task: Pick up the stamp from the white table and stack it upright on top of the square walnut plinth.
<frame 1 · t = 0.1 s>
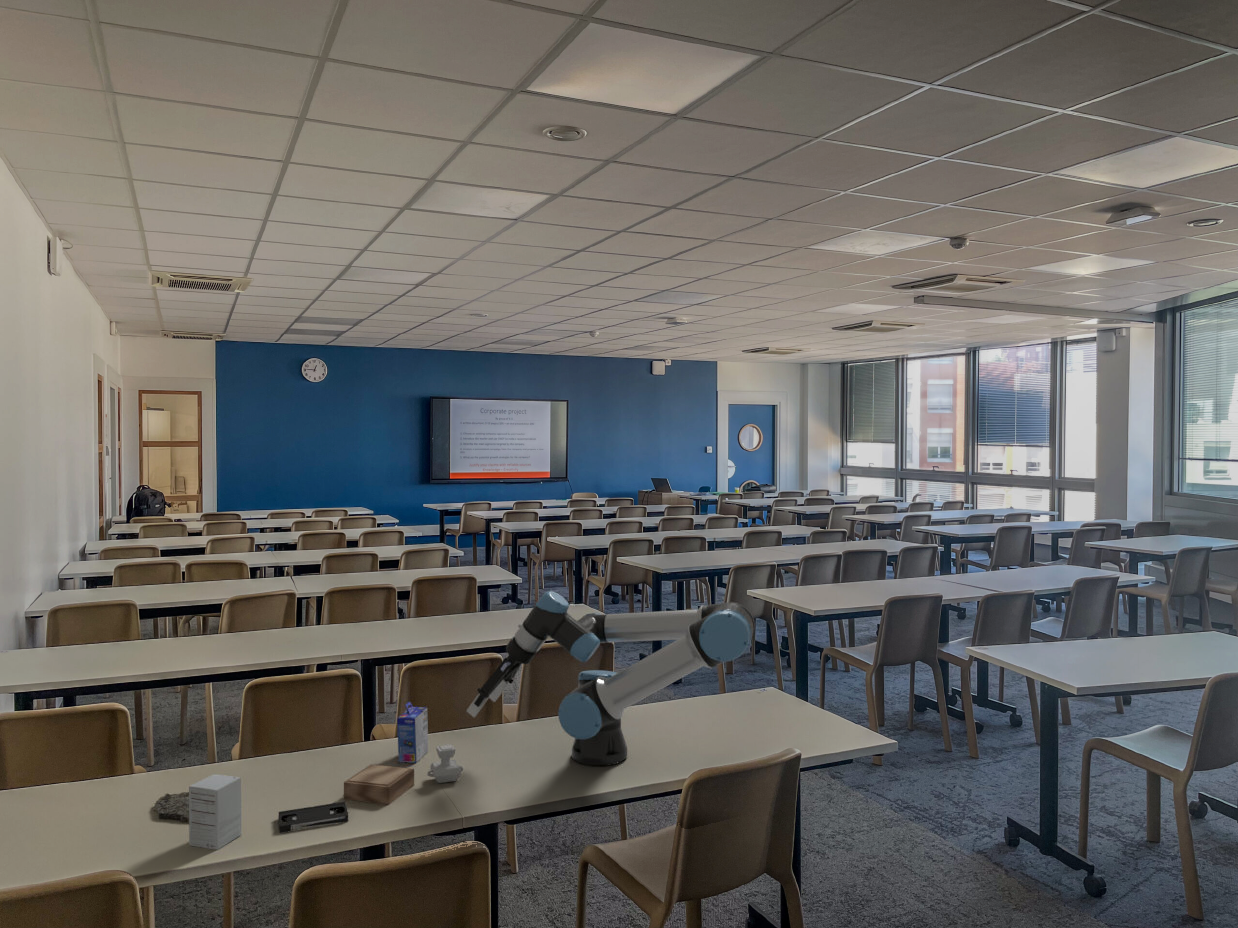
hand: (481, 706, 222), 15 cm above the table, tool tilted 35°, fingers open, 13 cm apart
plinth: (379, 791, 203), on the table
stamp: (445, 780, 211), on the table
stone slab: (183, 813, 193), on the table
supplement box: (215, 841, 177), on the table
ink cartridge box: (413, 757, 228), on the table
vhs tape: (313, 822, 188), on the table
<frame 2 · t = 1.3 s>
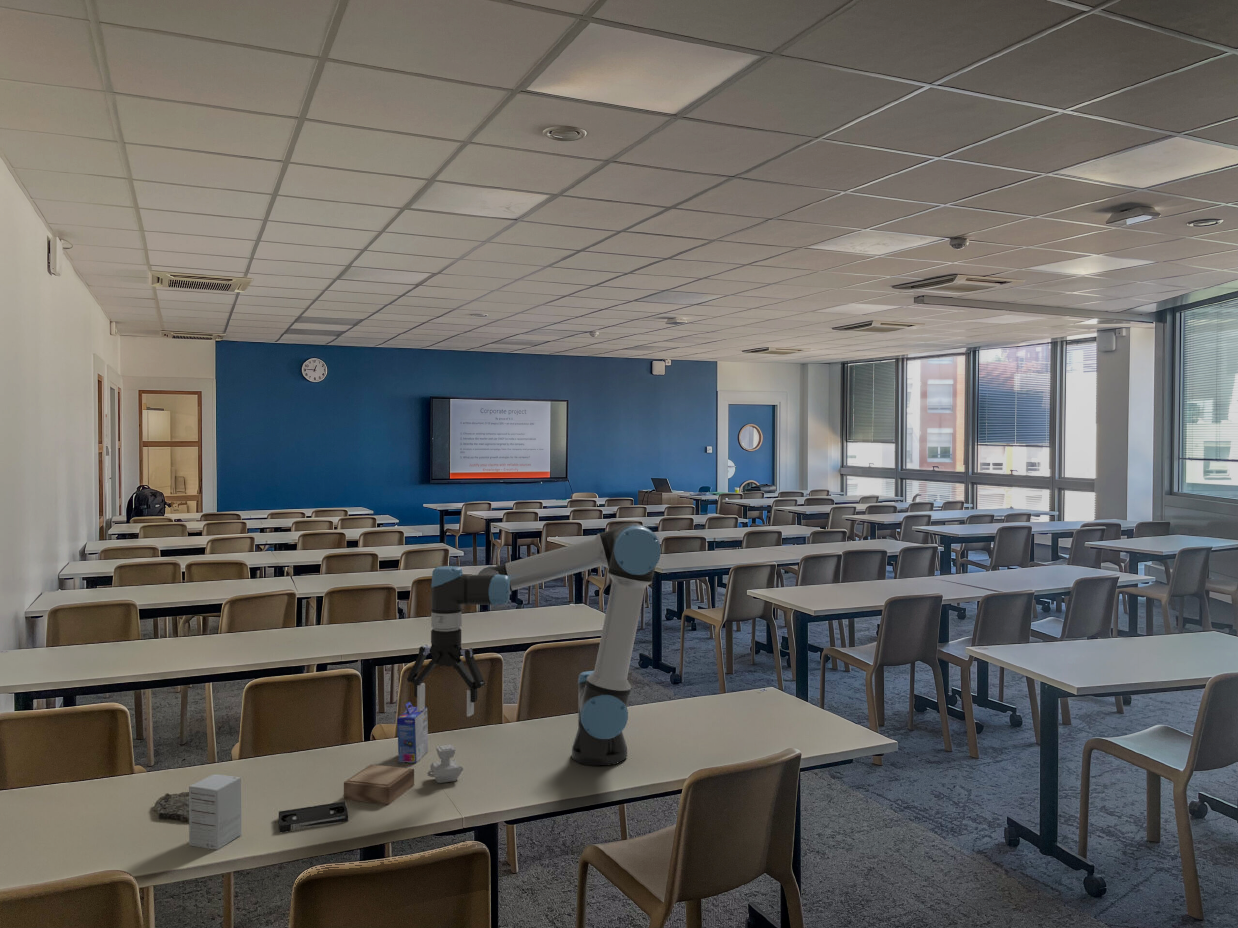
hand: (445, 712, 211), 17 cm above the table, tool pointing down, fingers open, 13 cm apart
nothing on the table moved.
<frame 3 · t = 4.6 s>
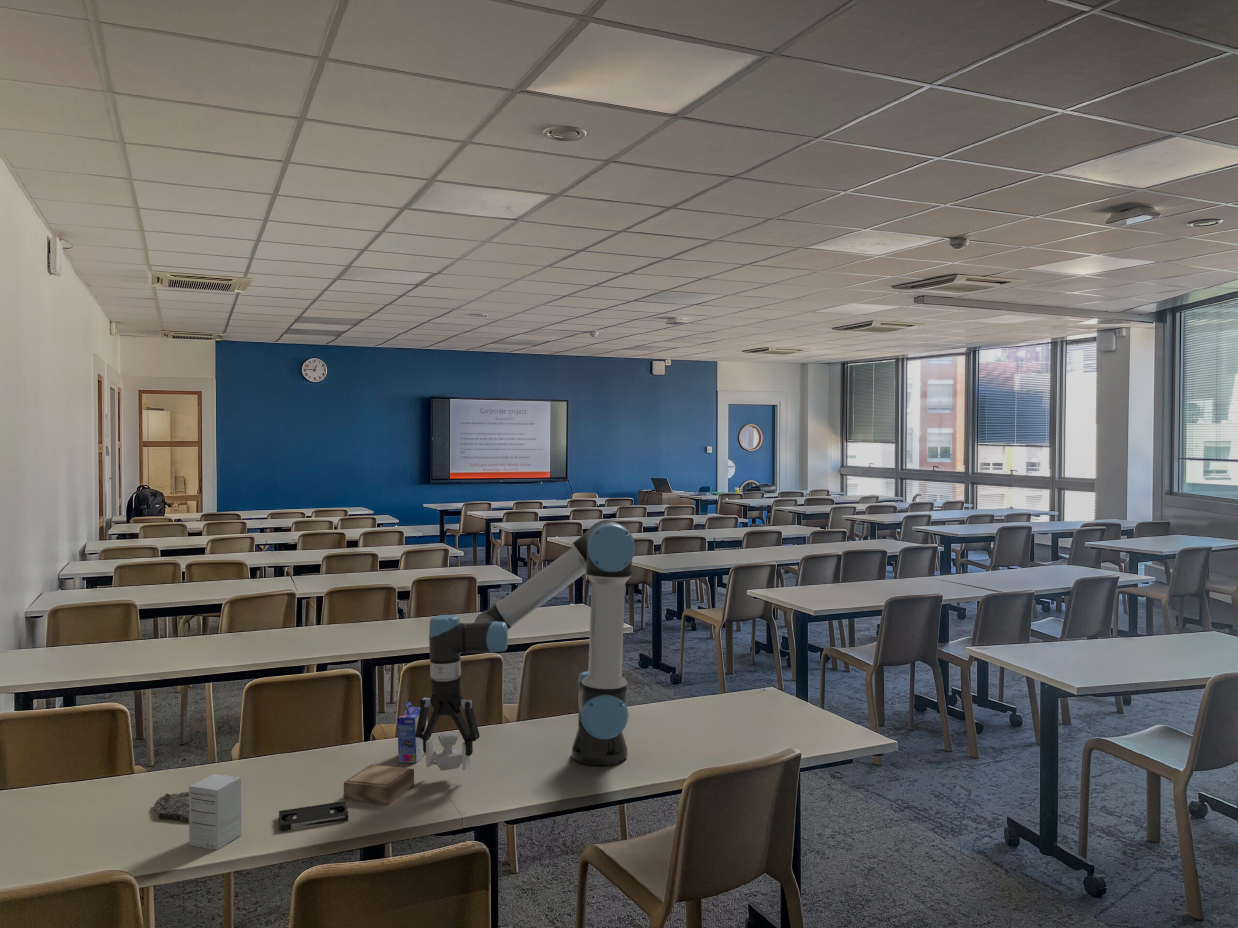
hand: (448, 766, 211), 3 cm above the table, tool pointing down, fingers closed on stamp, 9 cm apart
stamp: (448, 768, 211), point 3 cm above the table, touching gripper
everything else where it was.
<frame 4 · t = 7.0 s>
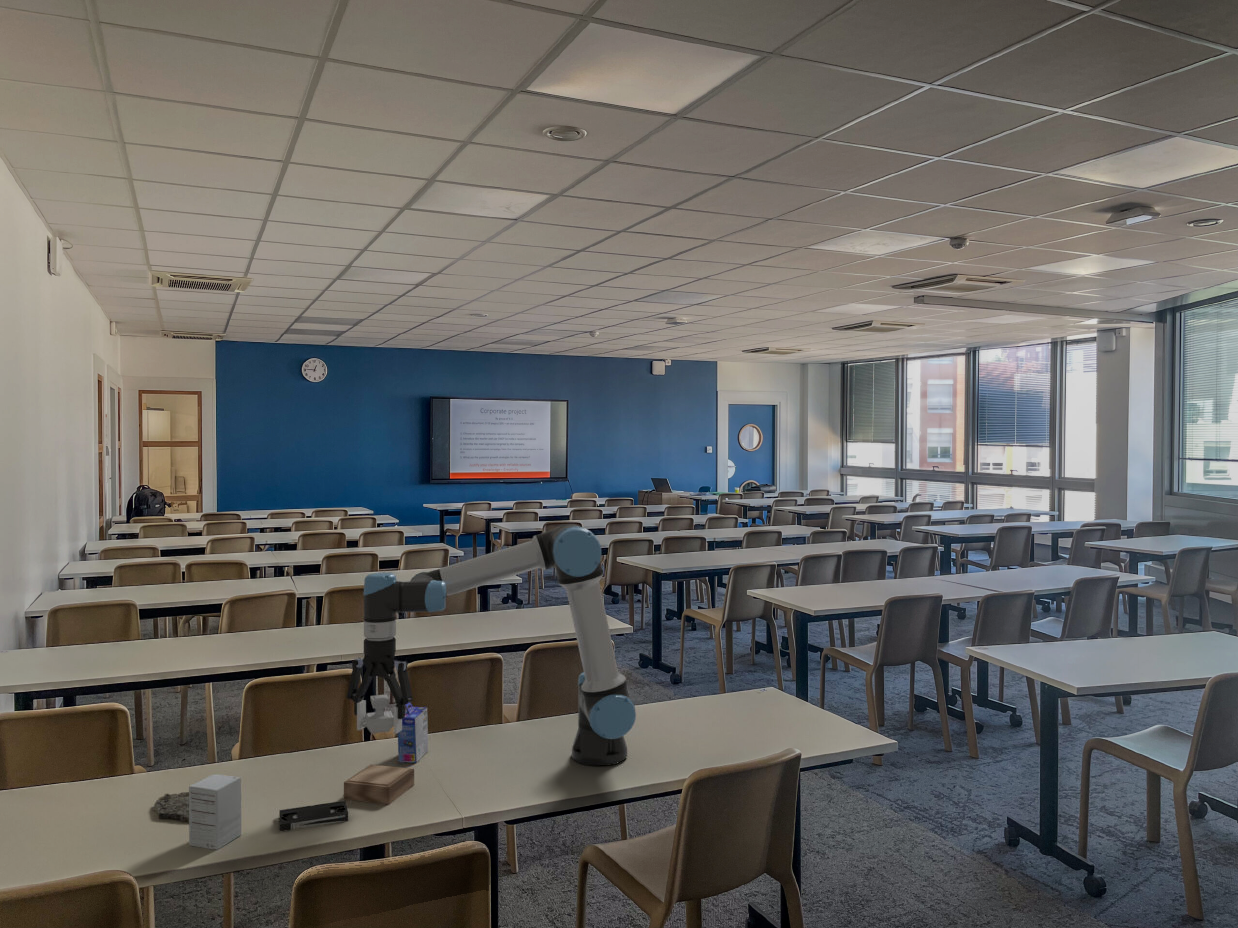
hand: (379, 729, 203), 15 cm above the table, tool pointing down, fingers closed on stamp, 9 cm apart
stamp: (379, 731, 203), point 15 cm above the table, touching gripper
everything else where it was.
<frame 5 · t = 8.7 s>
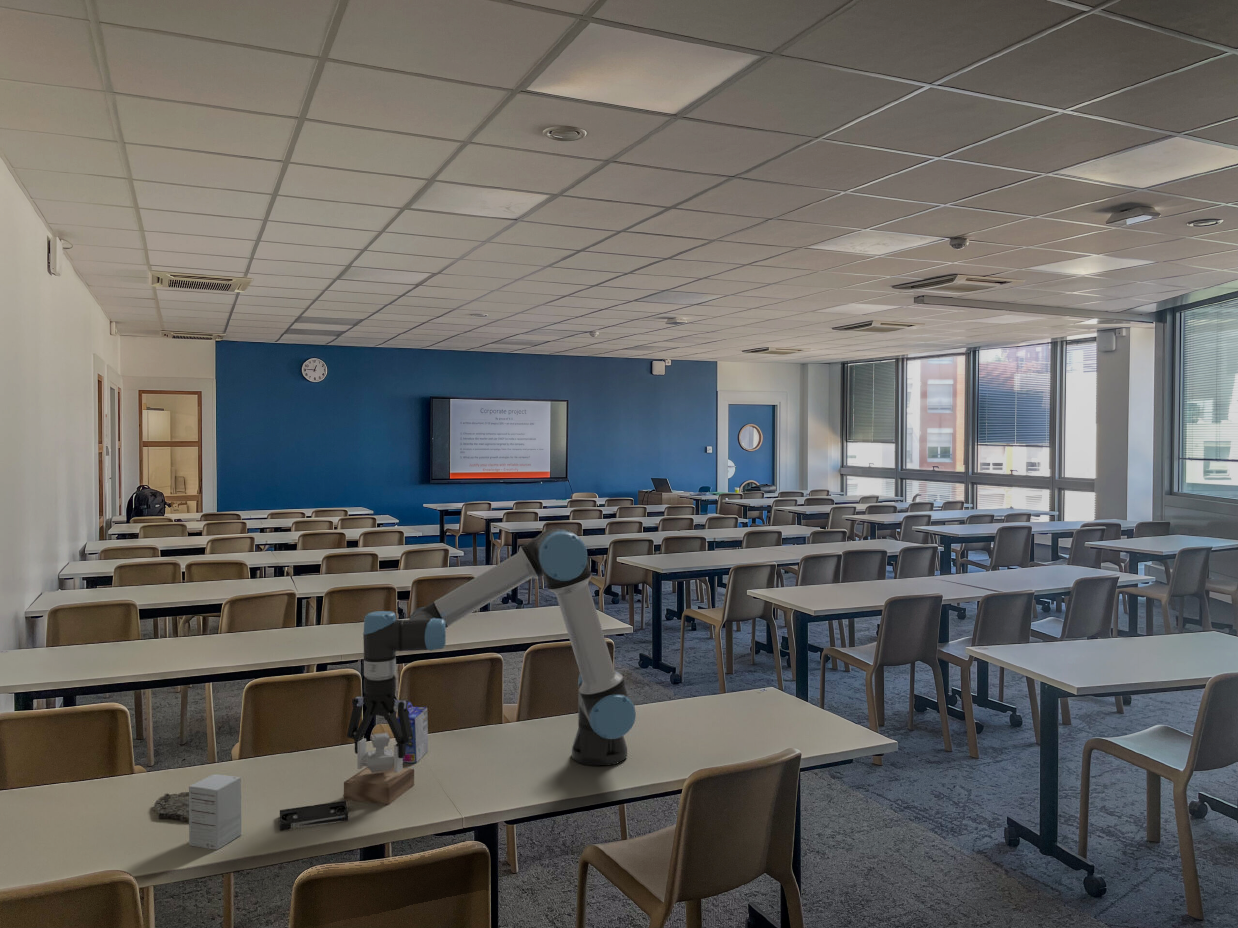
hand: (380, 768, 203), 6 cm above the table, tool pointing down, fingers closed on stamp, 9 cm apart
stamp: (380, 770, 203), point 5 cm above the table, touching gripper
everything else where it was.
when the fingers open (6 cm above the table, at t = 9.4 s): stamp drops 1 cm, resting on plinth.
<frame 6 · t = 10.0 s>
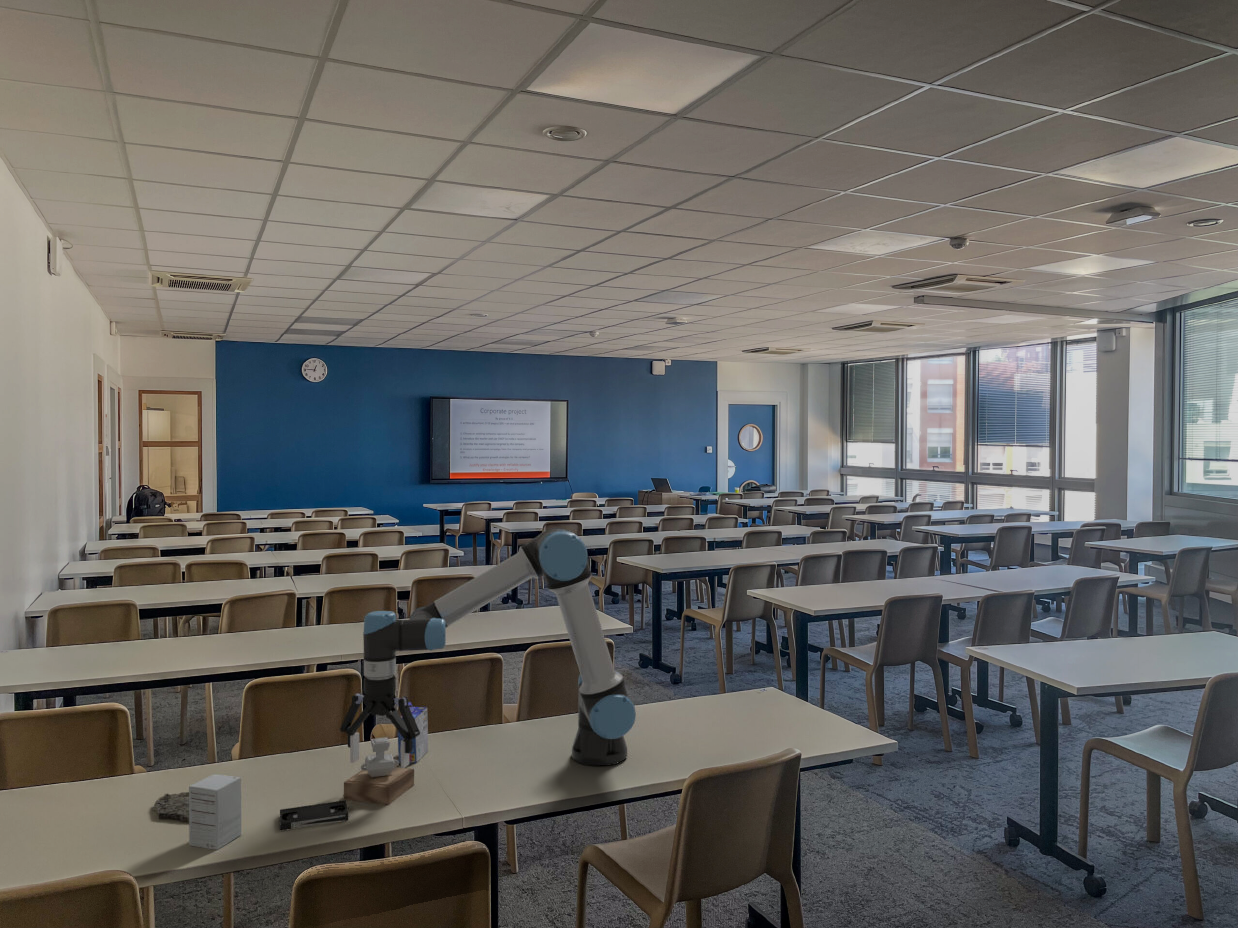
hand: (379, 763, 203), 7 cm above the table, tool pointing down, fingers open, 13 cm apart
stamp: (380, 774, 203), point 4 cm above the table, touching plinth
everything else where it was.
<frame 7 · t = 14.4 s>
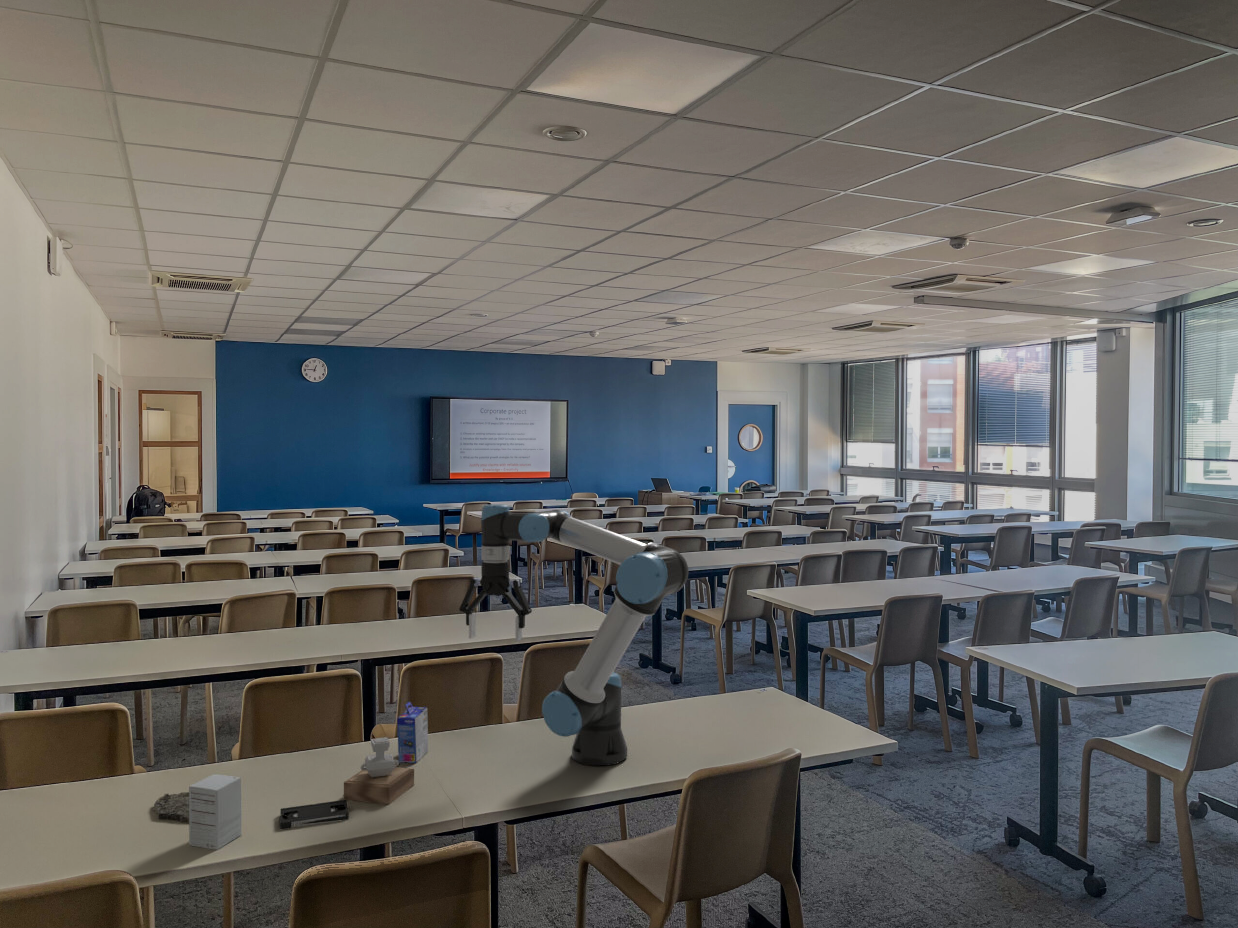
hand: (495, 638, 229), 32 cm above the table, tool pointing down, fingers open, 13 cm apart
at the end: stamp inside the target area on the plinth (0.1 cm from its centre), point 4.1 cm above the plinth's base; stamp tilted 0°; the gripper is holding nothing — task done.
